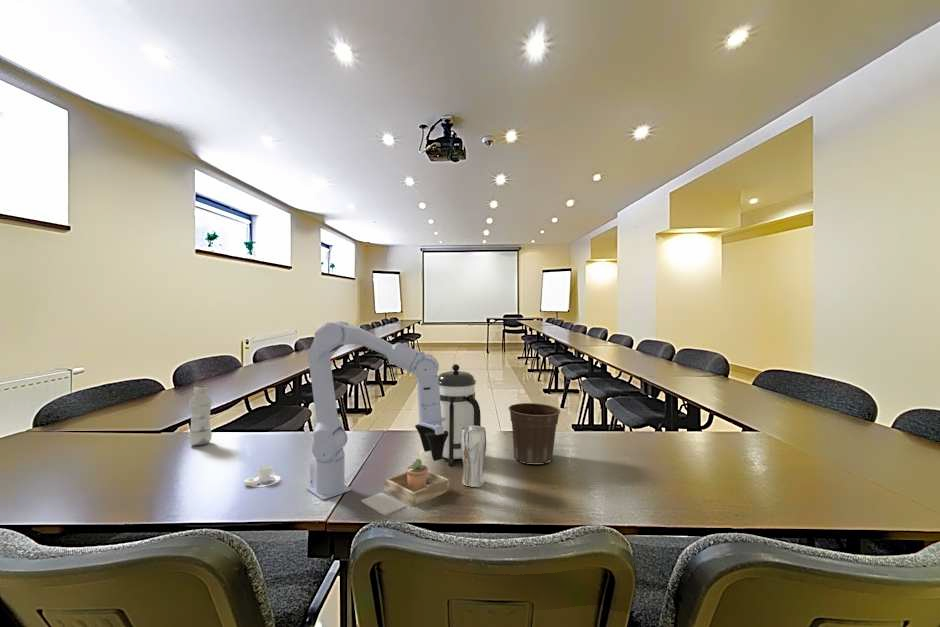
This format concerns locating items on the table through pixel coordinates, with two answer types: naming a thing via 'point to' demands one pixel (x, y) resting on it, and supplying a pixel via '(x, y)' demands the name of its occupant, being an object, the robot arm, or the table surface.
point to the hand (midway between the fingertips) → (432, 455)
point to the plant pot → (533, 431)
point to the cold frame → (414, 498)
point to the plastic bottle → (200, 417)
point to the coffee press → (457, 408)
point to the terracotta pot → (416, 476)
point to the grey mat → (383, 504)
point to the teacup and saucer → (262, 477)
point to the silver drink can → (473, 454)
